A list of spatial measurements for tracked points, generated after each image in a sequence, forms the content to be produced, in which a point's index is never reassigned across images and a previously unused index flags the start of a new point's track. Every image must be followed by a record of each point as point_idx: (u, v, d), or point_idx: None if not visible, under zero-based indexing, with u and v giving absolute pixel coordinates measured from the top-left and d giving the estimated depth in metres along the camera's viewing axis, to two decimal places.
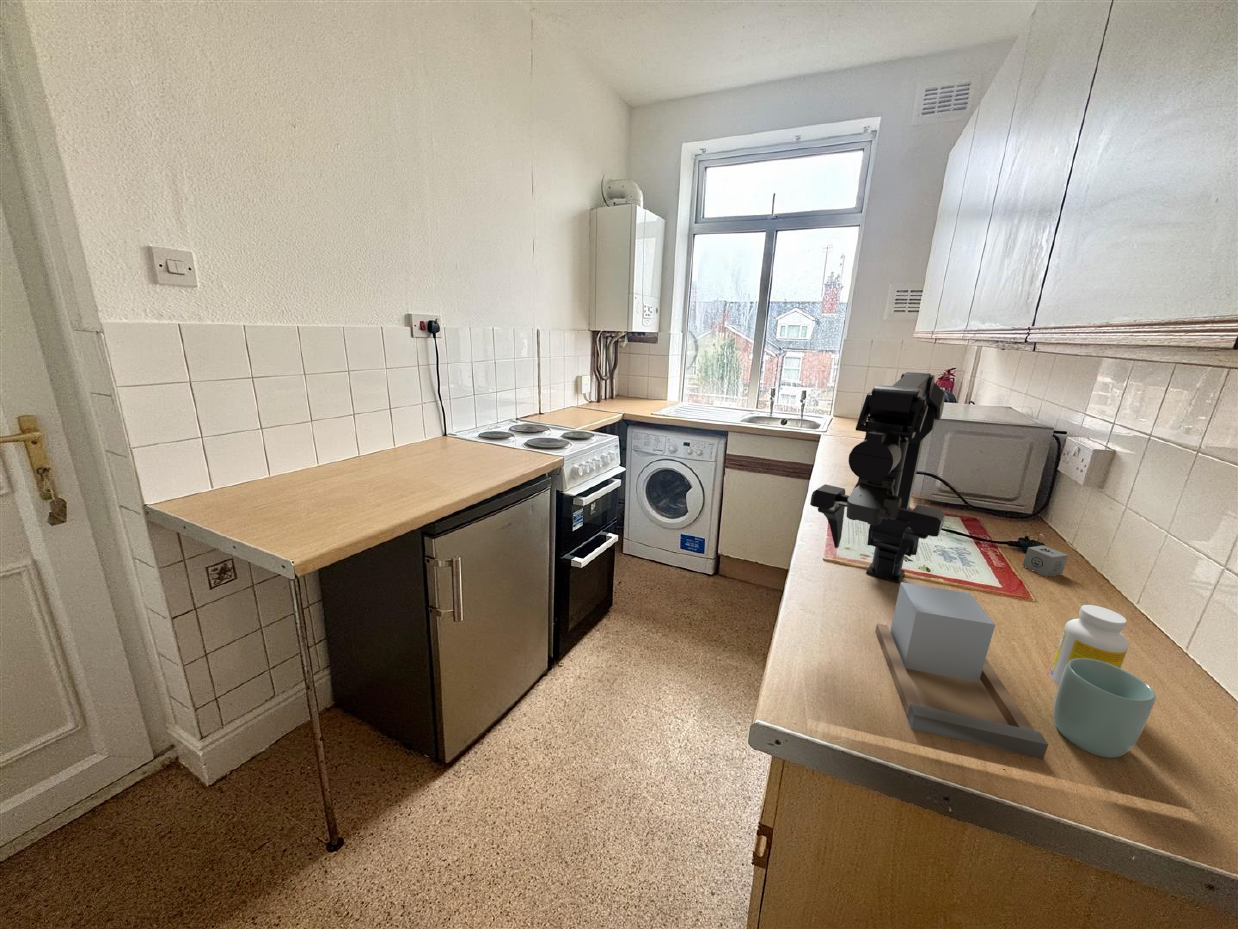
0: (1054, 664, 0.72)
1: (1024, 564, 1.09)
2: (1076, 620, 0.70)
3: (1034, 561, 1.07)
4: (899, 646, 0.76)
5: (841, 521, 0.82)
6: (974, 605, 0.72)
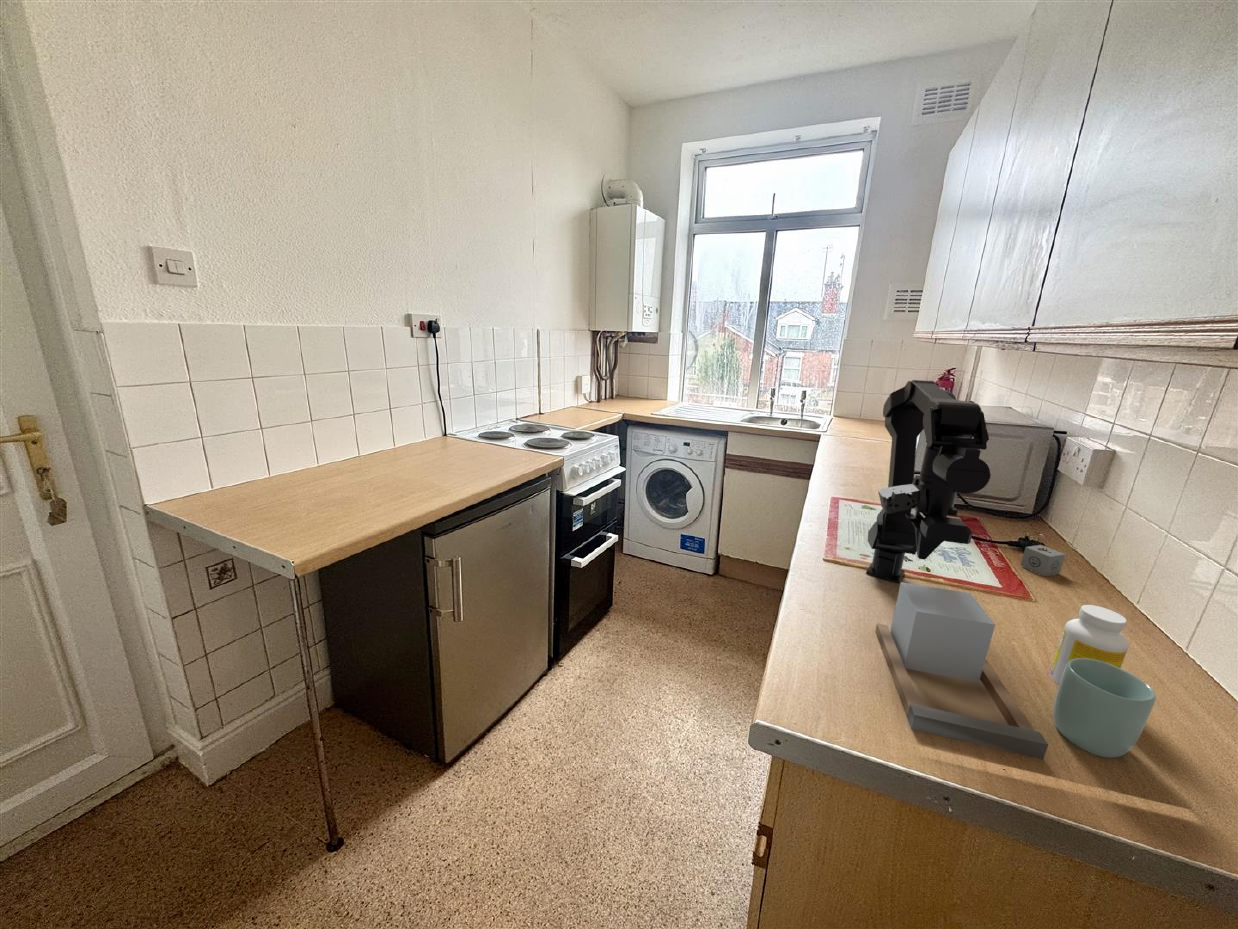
0: (1054, 664, 0.72)
1: (1022, 564, 1.09)
2: (1076, 620, 0.70)
3: (1032, 561, 1.07)
4: (899, 646, 0.76)
5: None
6: (974, 605, 0.72)
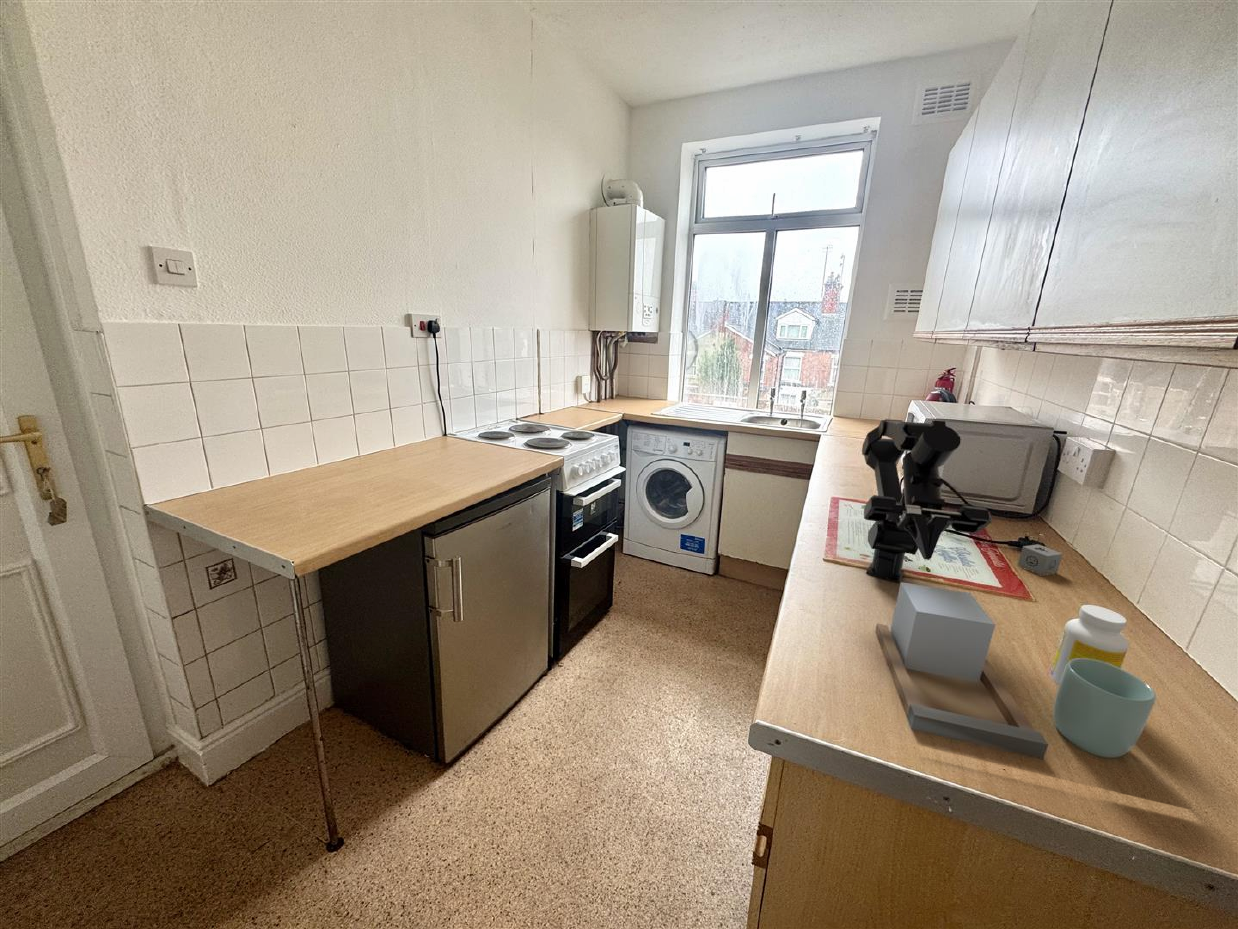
0: (1054, 664, 0.72)
1: (1019, 563, 1.10)
2: (1076, 620, 0.70)
3: (1029, 560, 1.08)
4: (899, 646, 0.76)
5: (930, 533, 0.83)
6: (974, 605, 0.72)
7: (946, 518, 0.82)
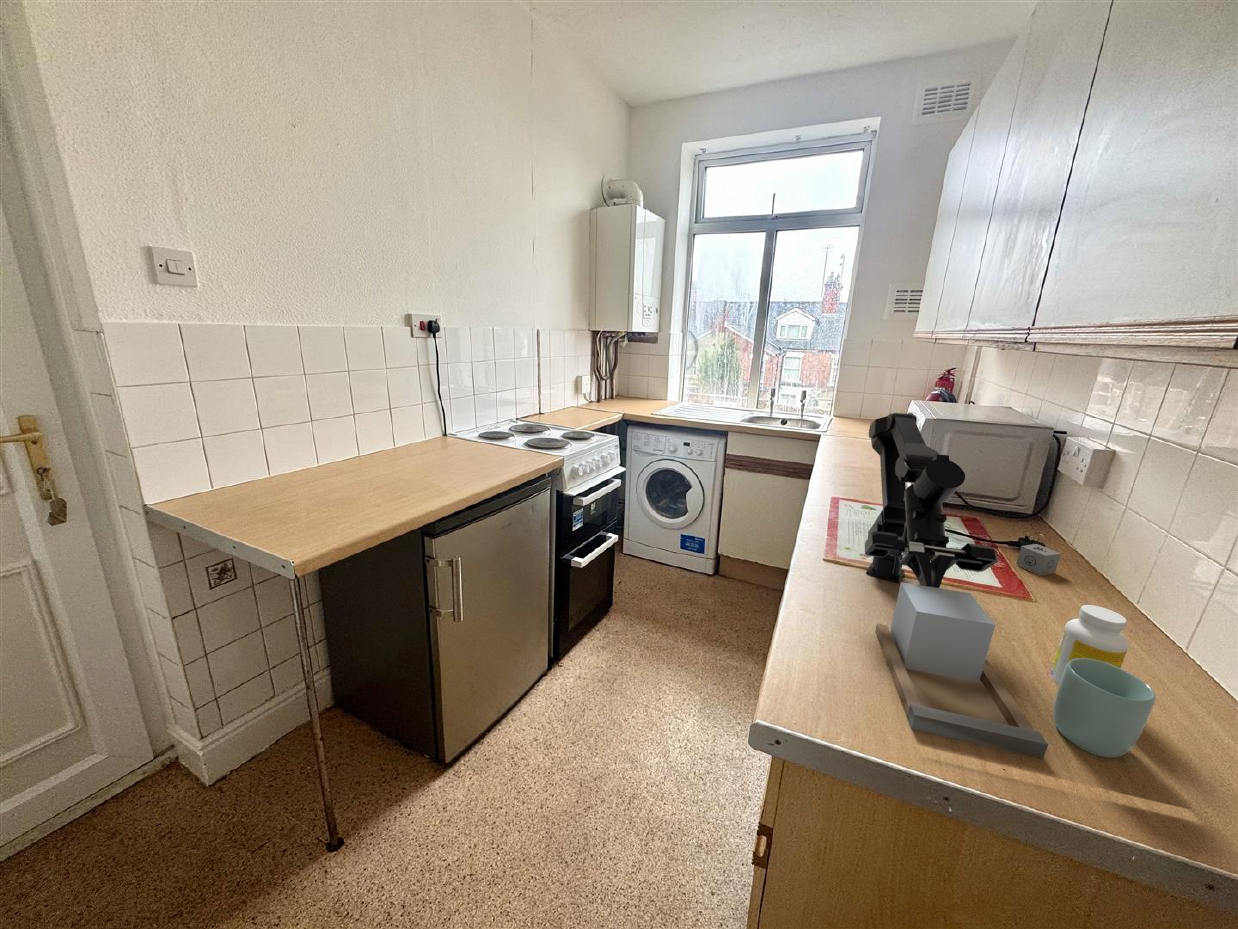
0: (1054, 664, 0.72)
1: (1017, 563, 1.10)
2: (1076, 620, 0.70)
3: (1027, 560, 1.08)
4: (899, 646, 0.76)
5: (934, 572, 0.79)
6: (974, 605, 0.72)
7: (950, 557, 0.78)
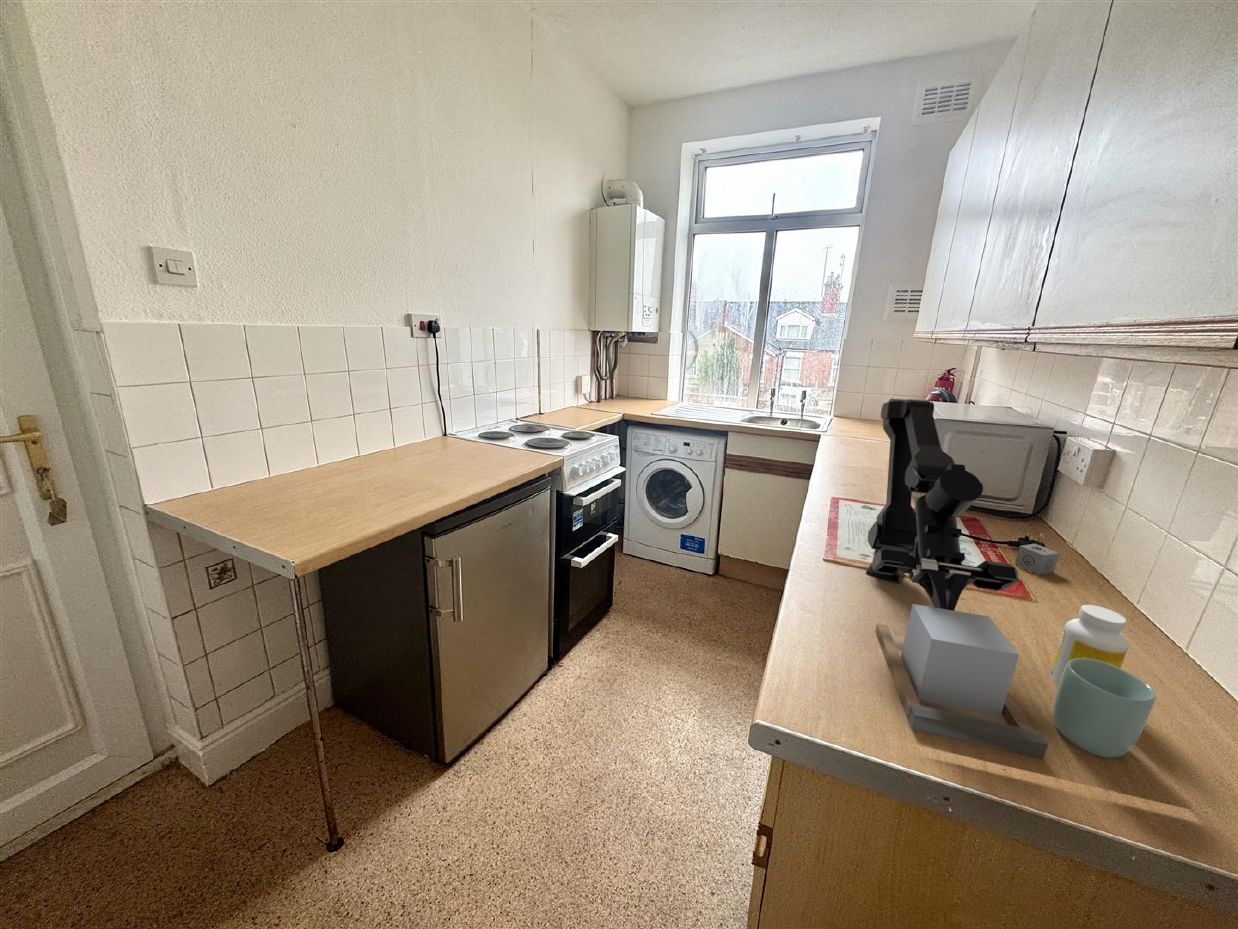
0: (1054, 664, 0.72)
1: (1016, 562, 1.10)
2: (1076, 620, 0.70)
3: (1026, 560, 1.08)
4: (911, 675, 0.69)
5: (948, 591, 0.73)
6: (994, 631, 0.66)
7: (967, 576, 0.72)
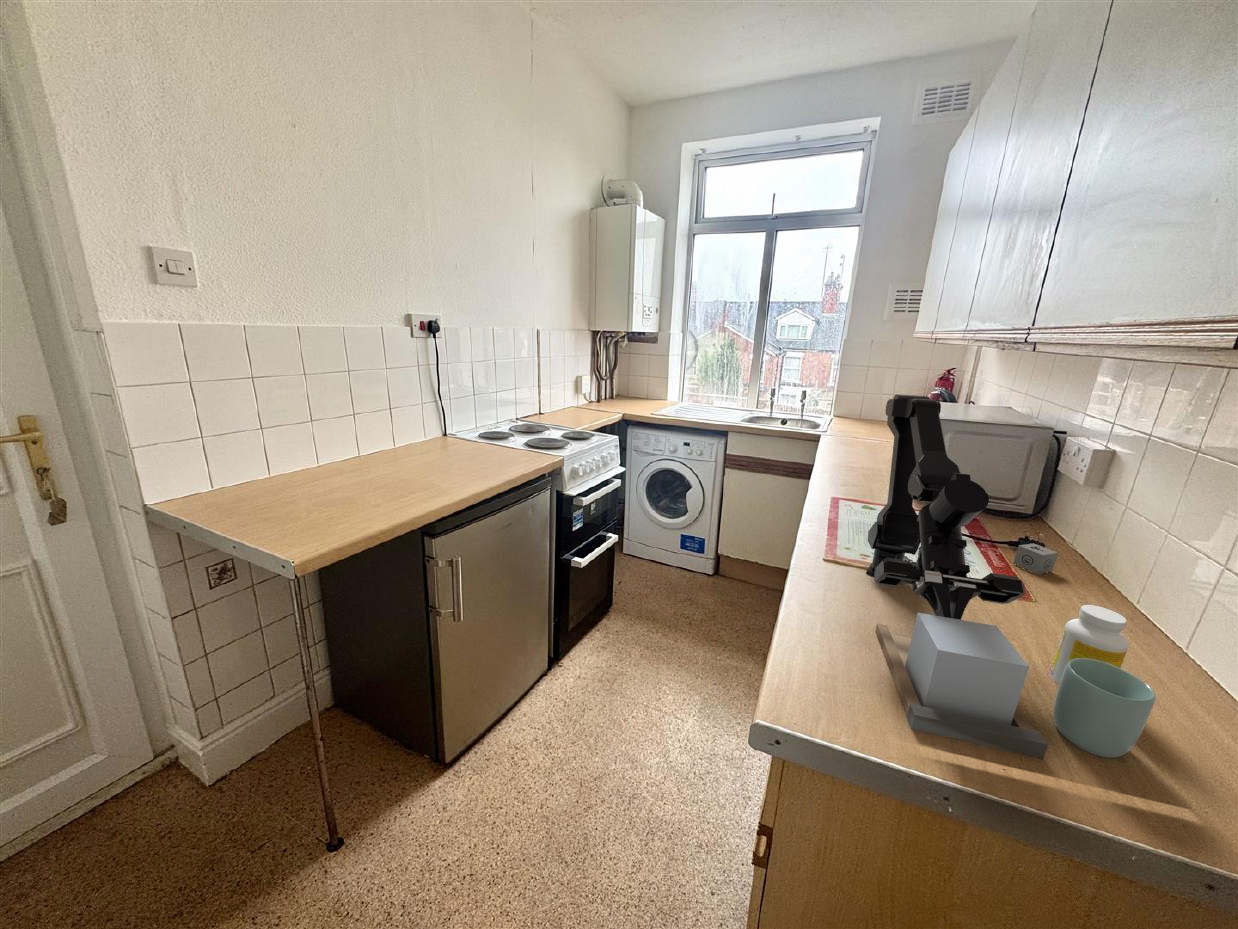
0: (1054, 664, 0.72)
1: (1015, 562, 1.10)
2: (1076, 620, 0.70)
3: (1025, 559, 1.08)
4: (916, 686, 0.67)
5: (953, 605, 0.71)
6: (1002, 642, 0.64)
7: (972, 589, 0.70)
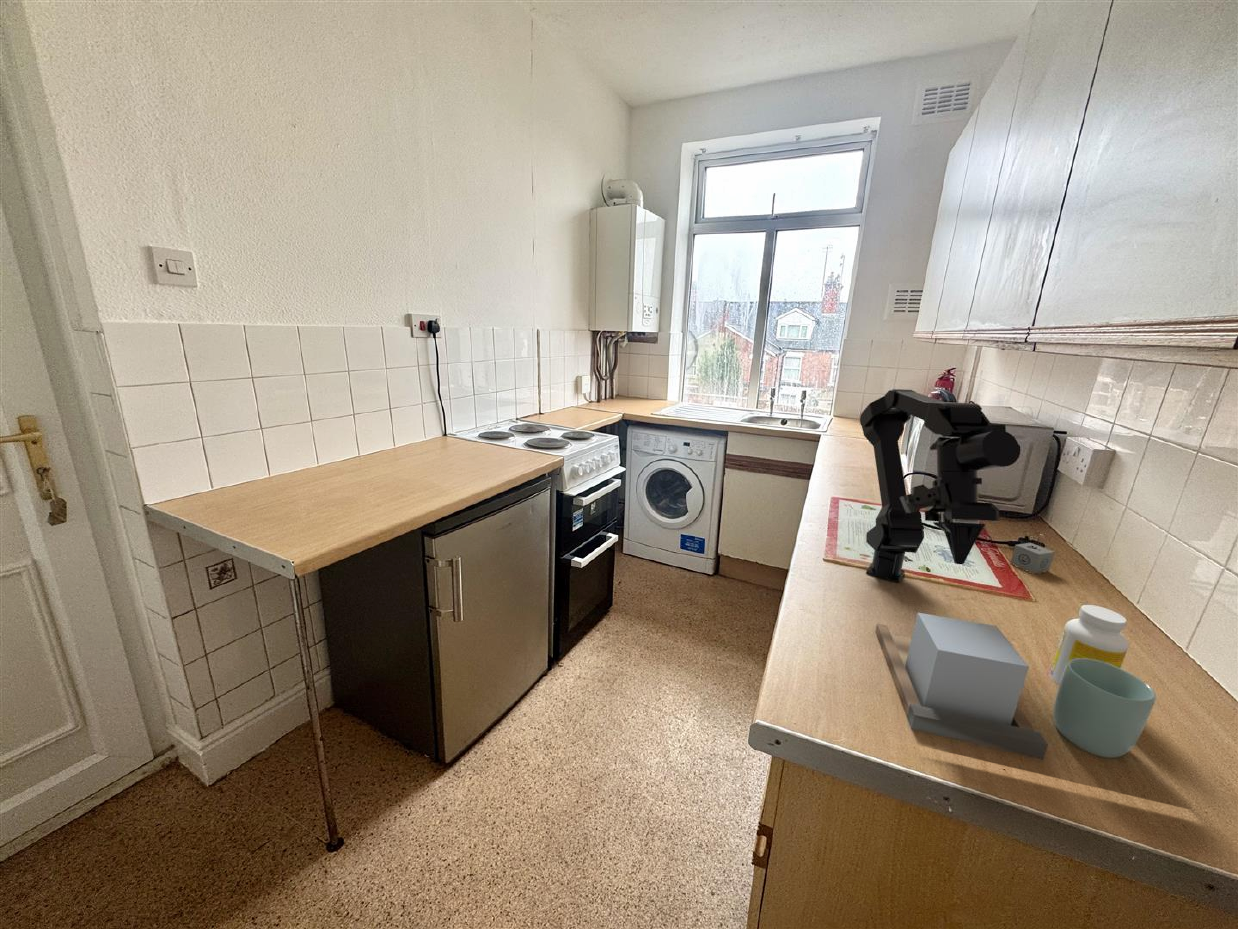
0: (1054, 664, 0.72)
1: (1012, 561, 1.10)
2: (1076, 620, 0.70)
3: (1022, 559, 1.08)
4: (916, 686, 0.67)
5: None
6: (1002, 642, 0.64)
7: None
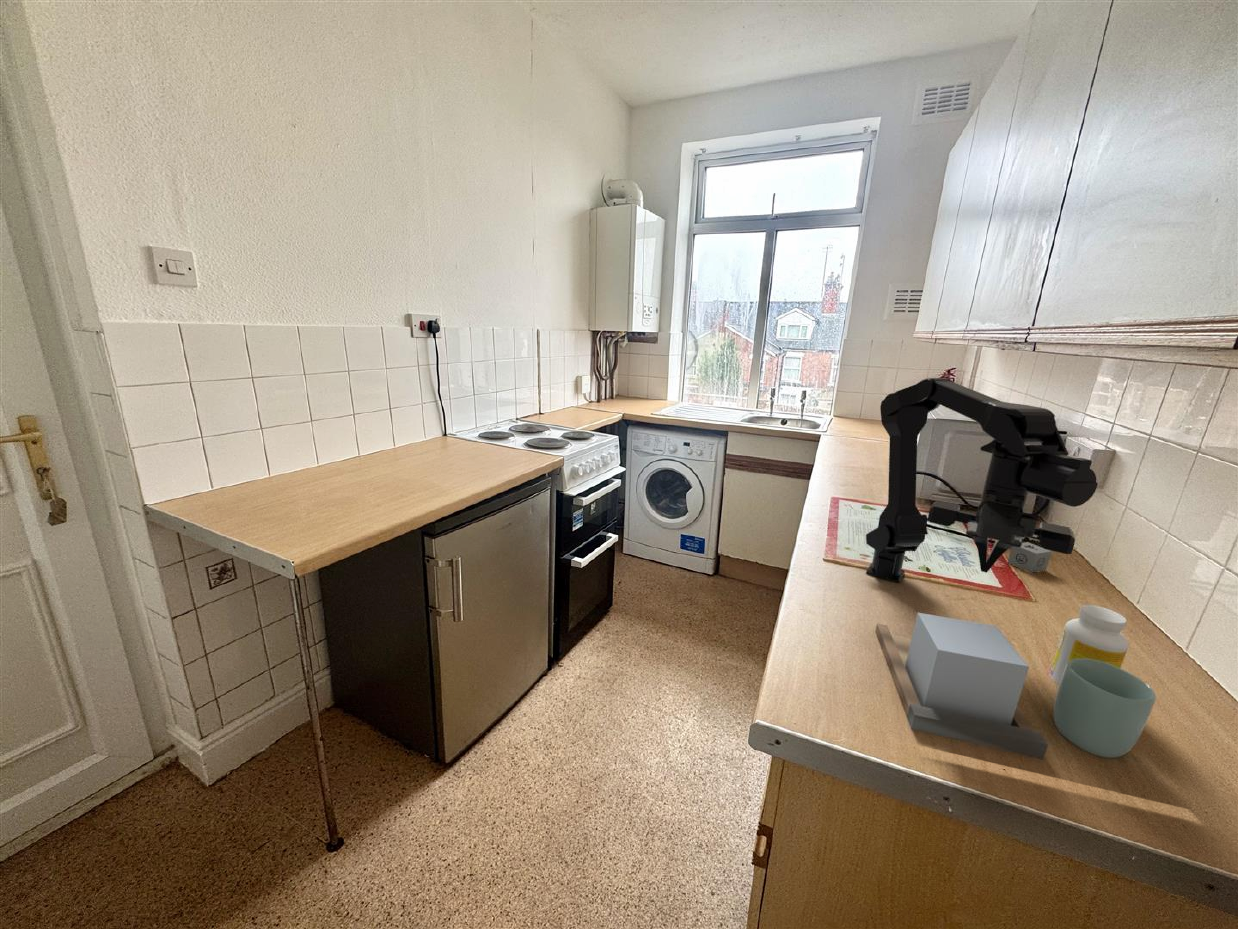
0: (1054, 664, 0.72)
1: (1009, 561, 1.11)
2: (1076, 620, 0.70)
3: (1019, 558, 1.09)
4: (916, 686, 0.67)
5: (987, 544, 0.81)
6: (1002, 642, 0.64)
7: None
